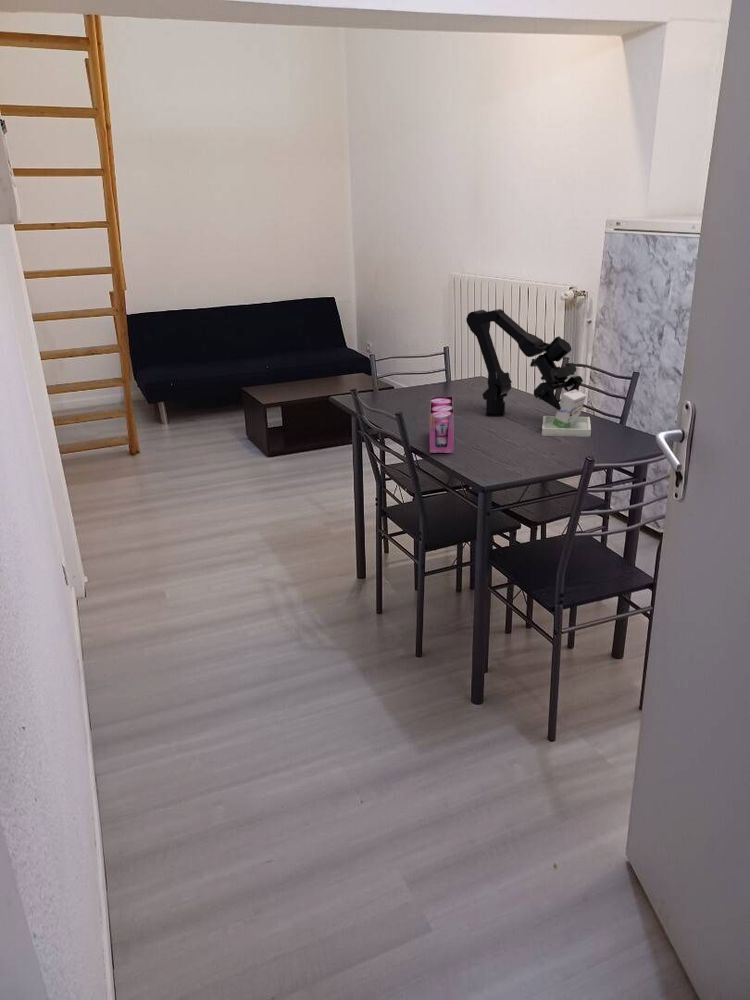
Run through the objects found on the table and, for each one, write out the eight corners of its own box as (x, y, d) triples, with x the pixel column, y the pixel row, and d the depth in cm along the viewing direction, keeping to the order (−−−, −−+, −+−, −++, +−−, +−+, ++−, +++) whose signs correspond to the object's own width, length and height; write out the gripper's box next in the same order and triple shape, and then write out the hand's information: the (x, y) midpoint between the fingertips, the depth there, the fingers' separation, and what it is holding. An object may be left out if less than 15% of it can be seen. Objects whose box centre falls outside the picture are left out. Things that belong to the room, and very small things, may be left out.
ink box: (563, 430, 259) (574, 399, 252) (551, 424, 261) (562, 393, 255) (576, 425, 264) (587, 394, 258) (565, 418, 267) (575, 388, 261)
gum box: (454, 455, 242) (453, 414, 237) (429, 456, 243) (428, 415, 238) (453, 434, 264) (453, 396, 259) (430, 434, 265) (430, 396, 260)
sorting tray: (541, 435, 258) (542, 428, 257) (543, 422, 272) (543, 415, 271) (590, 436, 254) (591, 429, 253) (589, 423, 269) (589, 416, 268)
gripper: (541, 359, 253) (563, 398, 248) (581, 352, 262) (603, 389, 257) (523, 378, 262) (544, 416, 257) (563, 371, 271) (584, 407, 266)
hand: (569, 407), depth 259 cm, fingers closed on ink box, 9 cm apart
